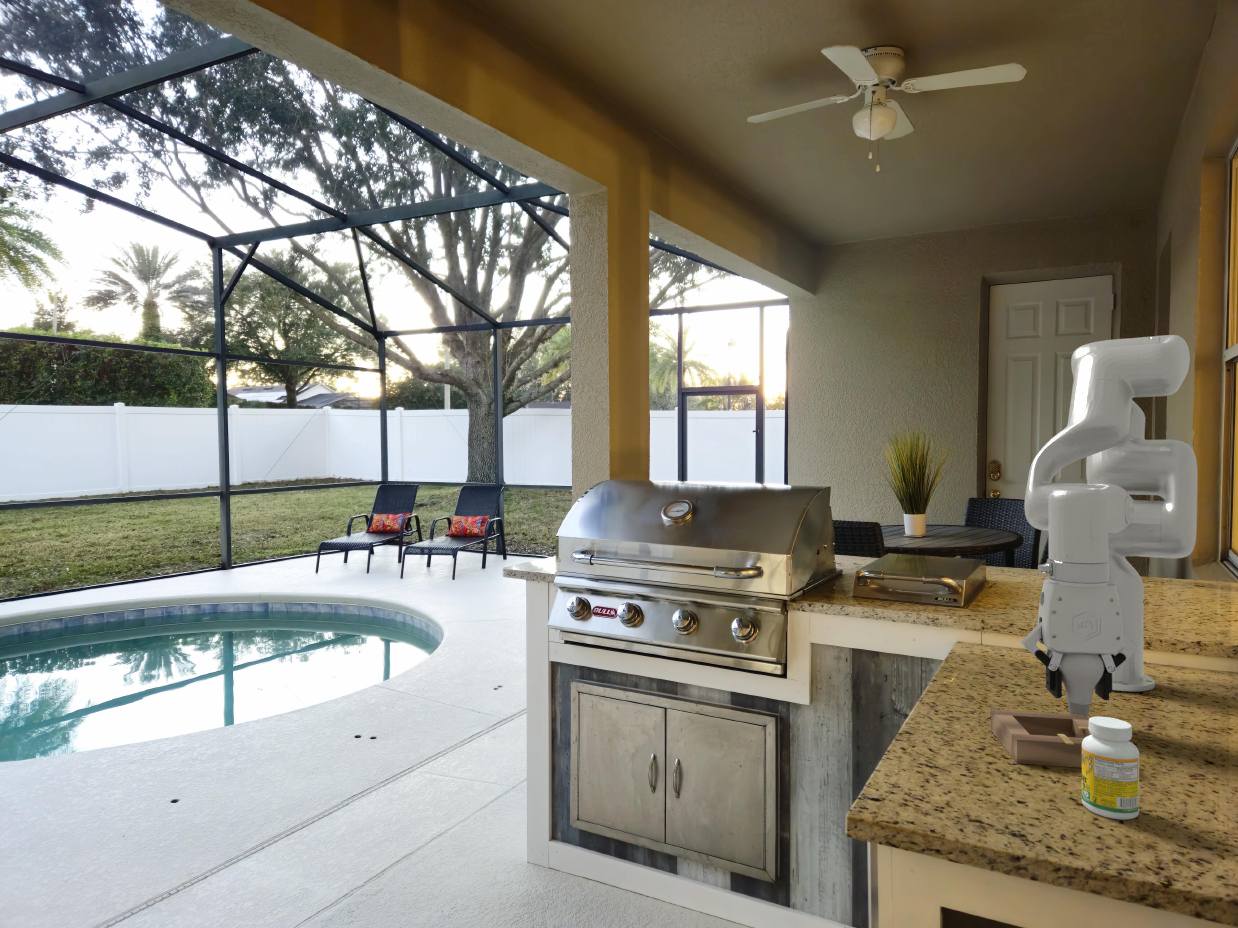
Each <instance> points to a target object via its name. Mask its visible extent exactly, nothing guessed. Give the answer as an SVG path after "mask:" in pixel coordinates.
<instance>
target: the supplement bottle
mask: <svg viewBox="0 0 1238 928" xmlns="http://www.w3.org/2000/svg"><path fill="white" fill-rule="evenodd" d="M1088 719H1089V727H1088V729H1089V732H1090V733H1091V734H1092V735H1089V736H1087V737H1085V738H1084V739H1083V741H1082V768H1081V803H1082V805H1083V806H1084V807H1085V808H1086V809H1087V810H1089V811H1090V812H1091V813H1094V814H1096V815H1099V816H1102V817H1104V818H1108V819H1109V818H1110V819H1113V820H1114V819H1115V820H1125V821H1126V820H1132V819H1135V818H1137V817H1138V816H1139V814H1140V751H1139V749H1138V747H1137V746H1136V745H1135V744H1134V743H1133V742H1131V741H1130V740H1131V739H1132V737H1133V728H1132V727H1133V726H1132V724H1131V723H1129V722H1128V721H1124V720H1122V719H1119V718H1113V717H1110V716H1109V717H1108V716H1091V717H1089V718H1088Z"/></svg>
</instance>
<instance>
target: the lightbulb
mask: <svg viewBox="0 0 1238 928" xmlns="http://www.w3.org/2000/svg"><path fill="white" fill-rule="evenodd" d="M1059 671H1061V672H1062V684H1063V685H1064V688H1065V689H1064V690H1065V693H1066V694H1065V695H1066V696H1065V697H1066V700H1067V701H1068V714H1075V715H1084V716H1085V717H1087V718H1088V717H1089V716H1090V707H1091V706H1090V704H1091V703H1092V699H1093V693H1094V691H1095V686H1096V685H1097V683H1098V682H1099V680H1100V679H1101V677H1102V675H1103V672H1104V664H1103V661H1102V658H1101V657H1100V655H1099V654H1071V653H1063V655H1062V658H1061V661H1060V663H1059Z"/></svg>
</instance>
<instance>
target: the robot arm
mask: <svg viewBox="0 0 1238 928" xmlns="http://www.w3.org/2000/svg"><path fill="white" fill-rule="evenodd" d="M1190 362H1191V354H1190V349H1189V346H1188V344H1187V342H1186V341H1185V339H1184V338H1183V337H1181V336H1180V335H1178V334H1177V335H1176V334H1167V335H1165V334H1164V335H1154V336H1143V337H1132V338H1131V337H1129V338H1117V339H1105V340H1099V341H1098V340H1097V341H1094V342H1090V343H1087V344H1086V343H1085V344H1083V345H1081V346H1079V347H1077V348H1076V349H1075V350H1074V351H1073V353H1072V355H1071V360H1070V364H1071V365H1070V366H1071V373H1072V377H1073V381H1072V382H1073V383H1072V389H1071V396H1070V404H1069V412H1068V417H1067V418H1068V420H1067V425H1066V427H1065V428H1063V429H1062V430H1061V431H1059V432H1057V434H1055V435H1054V436H1053V437H1052V438H1050V439H1049V440H1048V441H1047V442H1046V443H1045V444H1044V445H1043V447H1042V448H1041V449H1040V450H1039V451H1038V452H1037V453H1036V455H1035V457H1034V459H1033V460H1032V463H1031V465H1030V467H1029V472H1028V477H1027V483H1026V488H1025V494H1024V495H1025V496H1024V507H1023V508H1024V515H1025V518H1026V521H1027V523H1028V524H1030V526H1031V527H1033V528H1034V529H1036V530H1040V531H1047V532H1048V558H1047V559H1046V563H1043V564H1041V563H1040V564H1038V566H1037V571H1038V574H1043V575H1046V577H1048V579H1044V580H1043V584H1042V588H1041V592H1040V593H1041V594H1040V598H1039V605H1038V616H1037V625H1035V627H1033V629H1031V631H1030V632H1029V633H1028V634H1027V635H1025V637H1024V638H1023V639H1022V640H1021V642H1020V644H1021V646H1023V647H1024V648H1025V649H1027V650H1028V651H1029V652H1030V653H1031V654H1032V655H1033V656H1035V658H1036V659H1038V661H1040V662H1041V663H1042V664H1043V665H1044V666H1045V687H1046V690H1048V691H1049V693H1050V694H1051V696H1053V697H1054V698H1055V699H1061V698H1063V681H1062V672H1061V671H1059V663H1060V661H1061V658H1062V655H1063V653H1071V654H1099V655H1100V657H1101V658H1102V661H1103V664H1104V672H1103V675H1102V677H1101V679H1100V680H1099V682H1098V683H1097V685H1096V686H1095V688H1094V693H1095V695H1097V696H1098V697H1100V699H1102V700H1103V701H1110V694H1112V693H1113V691H1118V692H1120V691H1121V692H1132V693H1133V692H1135V693H1136V692H1137V693H1138V692H1146V691H1150V690H1153V689H1154V688H1155V686H1156V685H1155V682H1156V681H1155V680H1154V678H1153V677H1151V676H1150V675H1147V674H1144V657H1145V656H1144V647H1145V646H1144V641H1145V640H1144V639H1145V638H1144V637H1145V636H1144V629H1145V628H1144V627H1145V626H1144V622H1145V619H1144V616H1145V615H1144V612H1145V611H1144V608H1145V607H1144V606H1145V605H1144V602H1145V601H1144V595H1145V594H1144V593H1145V592H1144V590H1145V588H1144V582H1143V580H1142V577H1141V576H1140V574H1139V572H1138V571H1137V570H1136V568H1135V567H1133V566H1132V564H1131V563H1130V562H1129V561H1128V560H1127V558H1126V557H1141V558H1142V557H1143V558H1144V557H1145V558H1156V559H1158V558H1160V559H1183V558H1186V557H1188V556H1190V555H1191V554H1192V553H1193V552H1194V549H1195V545H1196V541H1197V540H1196V539H1197V522H1198V521H1197V519H1198V518H1197V517H1198V516H1197V515H1198V464H1197V463H1198V462H1197V458H1196V454H1195V451H1194V449H1193V448H1192V447H1191V446H1190V445H1189V444H1188V443H1186V442H1185V441H1181V440H1177V439H1145V431H1146V415H1145V412H1144V411H1143V410H1142V408H1141V407H1140V406H1139V404H1137V402H1135V401H1134V400H1133V398H1149V397H1166V396H1167V397H1168V396H1172V395H1174V394H1175V393H1177V392H1178V391H1179V389H1180V388H1181V387H1182V384H1183V382H1184V381H1185V378H1186V377H1187V376H1188V372H1189V368H1190ZM1085 458H1086V463H1085V468H1086V469H1085V470H1086V471H1085V474H1086V480H1087V483H1081V482H1078V483H1076V482H1073V483H1071V482H1068V483H1067V482H1052V480H1053V478H1054V477H1055V476H1056V475H1057V473H1059V472H1060V471H1061V470H1062V469H1064V468H1065V467H1067V466H1068V465H1070V464H1072V463H1075V462H1077V461H1080V460H1083V459H1085ZM1131 495H1135V496H1136V495H1137V496H1139V495H1140V496H1141V495H1142V496H1143V495H1145V496H1159V497H1161V498H1162V499H1163V500H1140V499H1136V500H1135V499H1134V498H1133V497H1132V496H1131ZM1038 642H1039V643H1040V644H1042V645H1044V646H1045V647H1046V650H1045V652H1044V651H1043V650H1042V649H1040V647H1038V646H1037V643H1038Z"/></svg>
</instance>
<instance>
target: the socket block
mask: <svg viewBox="0 0 1238 928" xmlns="http://www.w3.org/2000/svg"><path fill="white" fill-rule="evenodd" d="M1088 727H1089V718H1088V717H1085V716H1084V715H1075V714H1070V713H1056V712H1054V713H1053V712H1041V711H1038V712H1037V711H1020V710H1004V709H990V732H991V731H992V732H993V733H992V732H991V733H992V734H993V735H994V737H995V736H996V737H997V738H996V737H995V738H996V739H997V740H998V742H999V741H1000V742H1001V743H1002V744H1001V743H1000V742H999V743H1000V744H1001V745H1002V747H1003V746H1004V747H1005V748H1006V749H1007V750H1006V749H1005V748H1004V747H1003V748H1004V749H1005V750H1006V751H1007V753H1008V752H1009V753H1008V754H1009V755H1010V756H1011V758H1012V759H1013V760H1014V762H1016V764H1023V765H1024V764H1025V765H1027V764H1028V765H1038V766H1040V765H1041V766H1053V767H1054V766H1055V767H1069V768H1079V769H1080V768H1081V769H1082V741H1083V739H1084V738H1085V737H1087V736H1089V735H1092V734H1091V733H1090V732H1089V729H1088Z"/></svg>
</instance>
